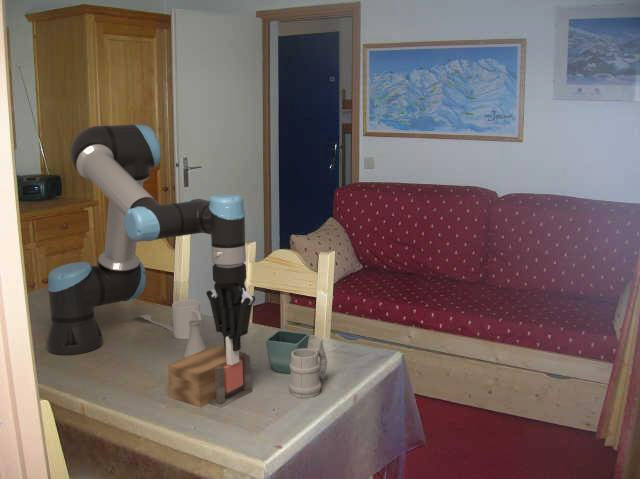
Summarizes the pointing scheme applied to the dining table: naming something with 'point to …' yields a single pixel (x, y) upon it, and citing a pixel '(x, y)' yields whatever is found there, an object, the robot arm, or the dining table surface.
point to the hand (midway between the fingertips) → (233, 362)
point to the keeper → (233, 376)
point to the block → (206, 378)
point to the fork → (156, 322)
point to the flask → (194, 339)
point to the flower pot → (284, 348)
